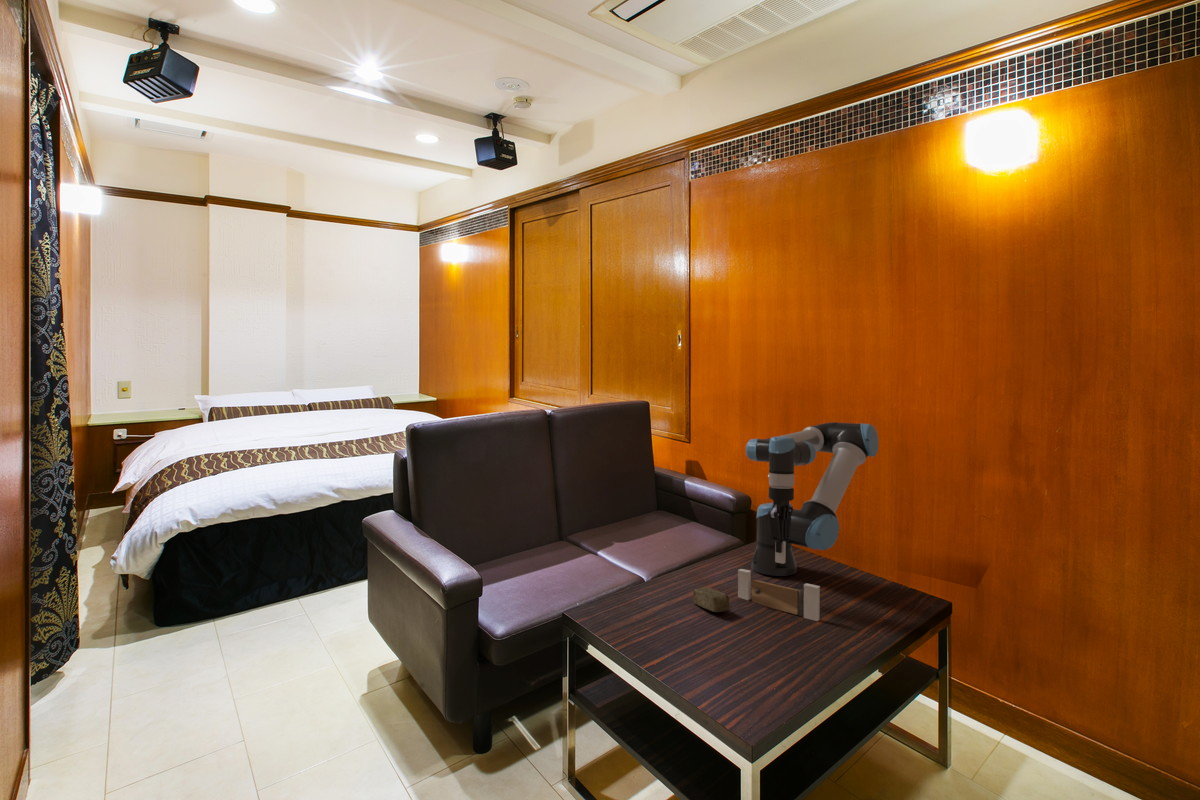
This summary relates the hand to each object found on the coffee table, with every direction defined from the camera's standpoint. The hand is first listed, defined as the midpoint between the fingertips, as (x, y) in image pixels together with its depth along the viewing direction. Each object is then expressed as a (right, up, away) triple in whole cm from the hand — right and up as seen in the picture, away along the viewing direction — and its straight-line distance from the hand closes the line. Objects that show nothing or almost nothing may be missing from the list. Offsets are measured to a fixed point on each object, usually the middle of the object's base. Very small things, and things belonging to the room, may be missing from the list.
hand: (780, 562), depth 182 cm
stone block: (-21, -13, -9) cm, 26 cm away
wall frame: (-4, -13, -6) cm, 14 cm away
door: (-3, -12, -7) cm, 15 cm away
